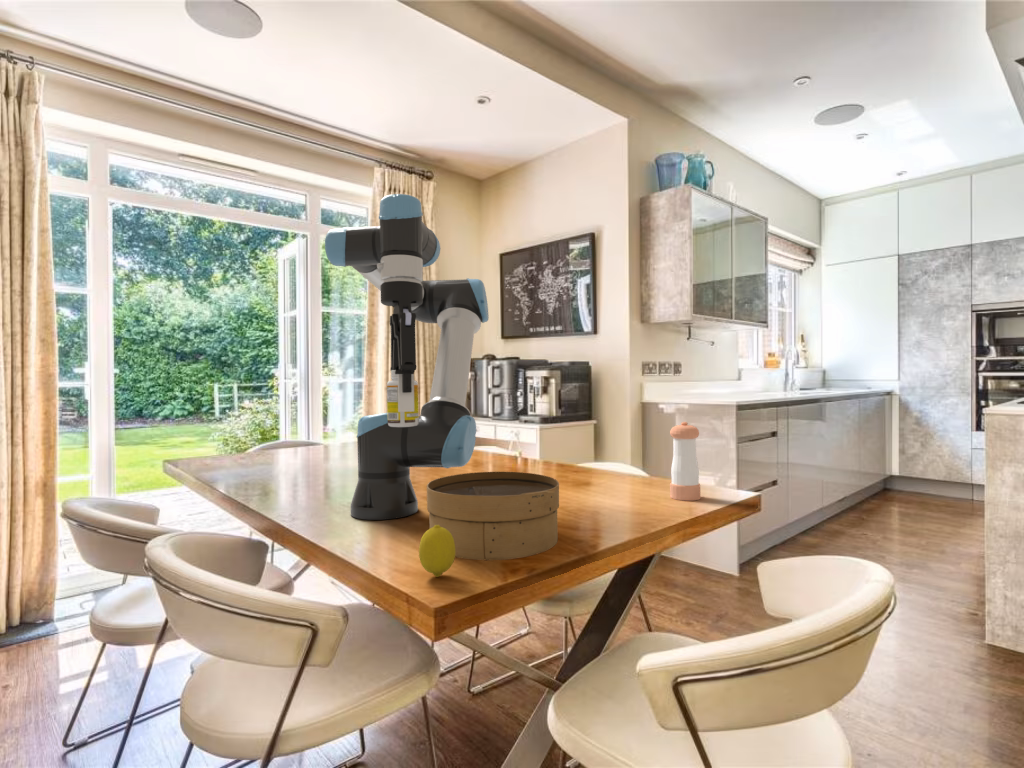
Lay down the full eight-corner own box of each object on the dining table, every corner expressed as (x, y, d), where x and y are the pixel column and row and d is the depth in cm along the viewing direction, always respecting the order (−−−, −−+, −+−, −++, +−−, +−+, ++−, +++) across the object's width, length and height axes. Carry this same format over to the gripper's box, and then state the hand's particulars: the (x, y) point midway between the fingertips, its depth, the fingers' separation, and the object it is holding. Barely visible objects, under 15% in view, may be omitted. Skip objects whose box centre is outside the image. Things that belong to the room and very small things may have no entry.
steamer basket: (586, 548, 97) (584, 484, 97) (452, 572, 86) (450, 501, 86) (525, 518, 119) (524, 466, 119) (413, 534, 109) (411, 478, 109)
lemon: (412, 577, 83) (411, 525, 83) (440, 568, 87) (439, 518, 87) (435, 586, 79) (434, 531, 79) (463, 576, 83) (462, 524, 83)
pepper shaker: (704, 500, 134) (703, 422, 134) (675, 501, 134) (674, 423, 134) (694, 494, 141) (693, 420, 141) (666, 494, 141) (665, 421, 141)
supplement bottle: (420, 424, 102) (419, 370, 102) (416, 427, 96) (415, 369, 96) (390, 425, 101) (389, 370, 101) (384, 427, 96) (384, 369, 96)
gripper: (374, 290, 106) (376, 409, 106) (387, 271, 89) (389, 414, 89) (413, 292, 109) (414, 408, 109) (432, 274, 91) (434, 412, 91)
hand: (403, 410), depth 99 cm, fingers closed on supplement bottle, 5 cm apart
